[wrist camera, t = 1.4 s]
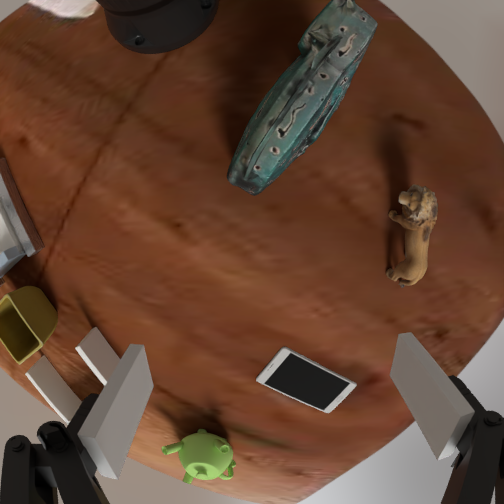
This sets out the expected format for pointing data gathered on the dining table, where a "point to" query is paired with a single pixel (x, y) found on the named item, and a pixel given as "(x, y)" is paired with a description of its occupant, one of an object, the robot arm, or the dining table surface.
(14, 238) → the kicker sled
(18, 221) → the rail base
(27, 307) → the flower pot
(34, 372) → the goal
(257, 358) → the dining table surface
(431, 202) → the lion figurine
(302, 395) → the smartphone
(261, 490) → the dining table surface
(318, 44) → the teal arched figure
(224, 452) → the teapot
